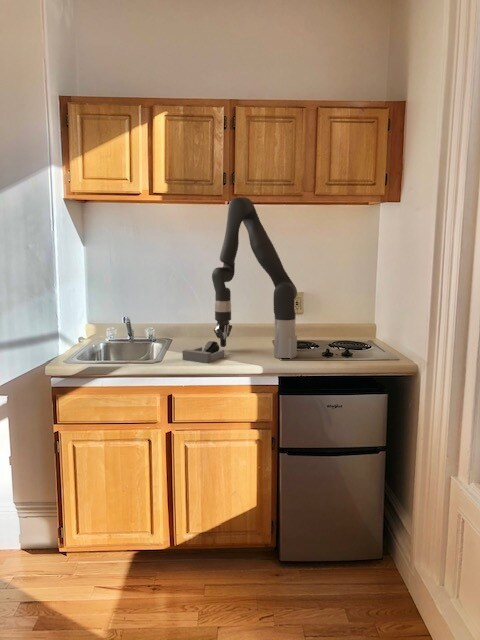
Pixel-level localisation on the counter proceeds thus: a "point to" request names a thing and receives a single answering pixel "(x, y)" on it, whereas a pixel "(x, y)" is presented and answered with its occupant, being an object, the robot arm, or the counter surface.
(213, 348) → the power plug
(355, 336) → the counter surface
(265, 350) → the counter surface
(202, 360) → the socket bay
